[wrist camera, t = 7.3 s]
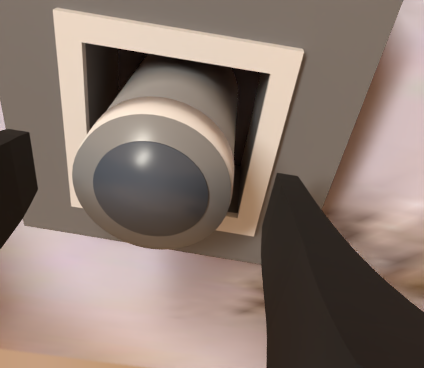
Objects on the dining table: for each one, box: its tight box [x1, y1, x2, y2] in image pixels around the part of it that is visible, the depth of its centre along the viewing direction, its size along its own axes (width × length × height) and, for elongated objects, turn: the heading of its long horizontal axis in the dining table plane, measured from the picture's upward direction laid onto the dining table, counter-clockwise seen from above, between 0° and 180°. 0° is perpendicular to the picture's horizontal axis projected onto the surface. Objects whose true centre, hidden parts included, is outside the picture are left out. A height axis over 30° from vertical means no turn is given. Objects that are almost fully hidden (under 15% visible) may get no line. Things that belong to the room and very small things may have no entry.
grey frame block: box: [0, 0, 403, 264], centre depth 15 cm, size 12×11×4 cm
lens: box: [72, 54, 238, 249], centre depth 14 cm, size 4×4×7 cm
